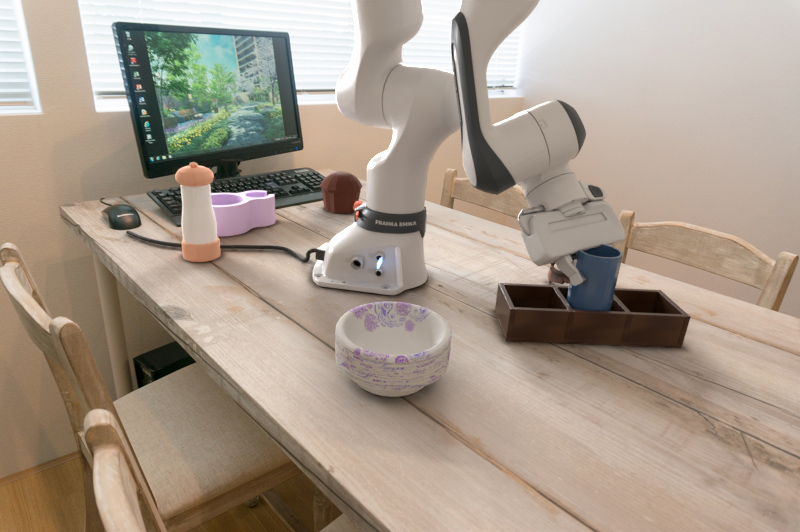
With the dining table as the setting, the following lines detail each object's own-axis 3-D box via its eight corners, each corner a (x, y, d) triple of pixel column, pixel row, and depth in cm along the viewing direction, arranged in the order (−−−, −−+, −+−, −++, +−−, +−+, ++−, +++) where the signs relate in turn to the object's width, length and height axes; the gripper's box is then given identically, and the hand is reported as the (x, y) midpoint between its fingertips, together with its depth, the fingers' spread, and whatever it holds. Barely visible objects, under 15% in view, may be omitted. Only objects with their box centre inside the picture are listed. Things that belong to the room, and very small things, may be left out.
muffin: (343, 217, 138) (343, 179, 134) (311, 209, 144) (310, 172, 140) (369, 208, 148) (371, 172, 144) (339, 201, 153) (339, 166, 149)
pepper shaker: (191, 264, 104) (181, 168, 97) (177, 253, 109) (167, 160, 102) (226, 257, 108) (219, 164, 101) (211, 247, 113) (204, 157, 106)
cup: (572, 316, 83) (584, 257, 79) (560, 297, 89) (571, 241, 85) (616, 318, 83) (630, 259, 79) (601, 299, 89) (613, 243, 85)
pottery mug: (607, 299, 101) (597, 266, 96) (558, 312, 104) (546, 281, 99) (594, 261, 110) (584, 231, 106) (549, 275, 113) (538, 245, 109)
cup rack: (505, 341, 83) (510, 309, 81) (494, 312, 92) (498, 282, 90) (681, 348, 84) (690, 316, 82) (653, 318, 93) (660, 289, 91)
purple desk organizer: (259, 213, 138) (258, 187, 135) (284, 226, 129) (283, 198, 127) (182, 226, 125) (179, 197, 122) (204, 241, 117) (201, 210, 114)
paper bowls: (356, 423, 63) (358, 366, 60) (321, 357, 75) (321, 308, 72) (467, 398, 69) (474, 344, 66) (417, 340, 81) (421, 294, 78)
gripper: (526, 200, 79) (569, 283, 75) (609, 186, 90) (649, 259, 86) (501, 220, 84) (539, 300, 80) (582, 205, 95) (619, 274, 91)
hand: (597, 278), depth 83 cm, fingers closed on cup, 7 cm apart
